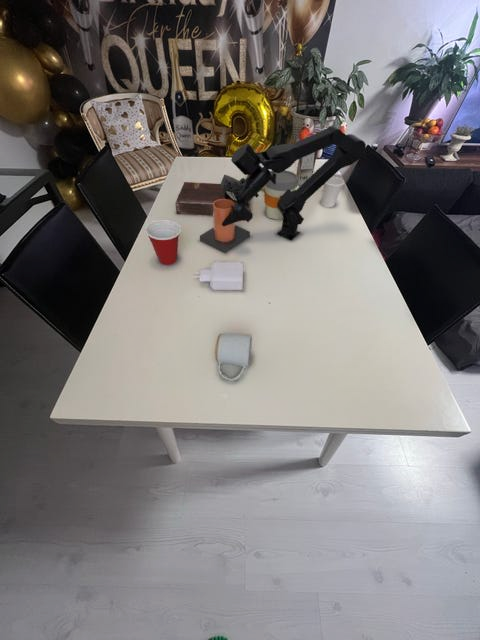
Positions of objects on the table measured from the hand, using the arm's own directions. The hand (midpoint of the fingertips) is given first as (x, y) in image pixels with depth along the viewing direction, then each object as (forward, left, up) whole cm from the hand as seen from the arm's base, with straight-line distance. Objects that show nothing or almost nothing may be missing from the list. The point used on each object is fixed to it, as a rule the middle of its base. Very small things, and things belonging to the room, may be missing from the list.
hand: (220, 219), depth 101 cm
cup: (-1, +1, -7) cm, 7 cm away
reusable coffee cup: (-31, +4, -9) cm, 32 cm away
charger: (+17, +14, -9) cm, 24 cm away
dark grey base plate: (-3, 0, -9) cm, 9 cm away
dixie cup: (-53, +16, -9) cm, 56 cm away
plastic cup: (+19, -6, -9) cm, 22 cm away
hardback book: (-20, -20, -9) cm, 29 cm away
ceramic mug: (+37, +37, -9) cm, 53 cm away
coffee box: (-66, -4, -9) cm, 66 cm away
